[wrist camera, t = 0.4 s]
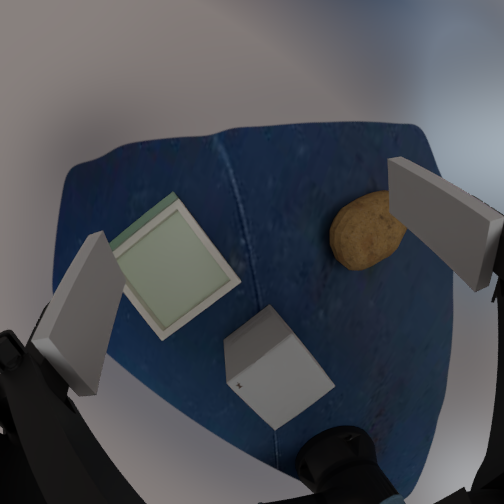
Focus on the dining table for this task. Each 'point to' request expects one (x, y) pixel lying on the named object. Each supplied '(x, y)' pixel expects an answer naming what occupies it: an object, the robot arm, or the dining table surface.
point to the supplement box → (273, 369)
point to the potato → (365, 231)
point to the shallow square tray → (171, 266)
